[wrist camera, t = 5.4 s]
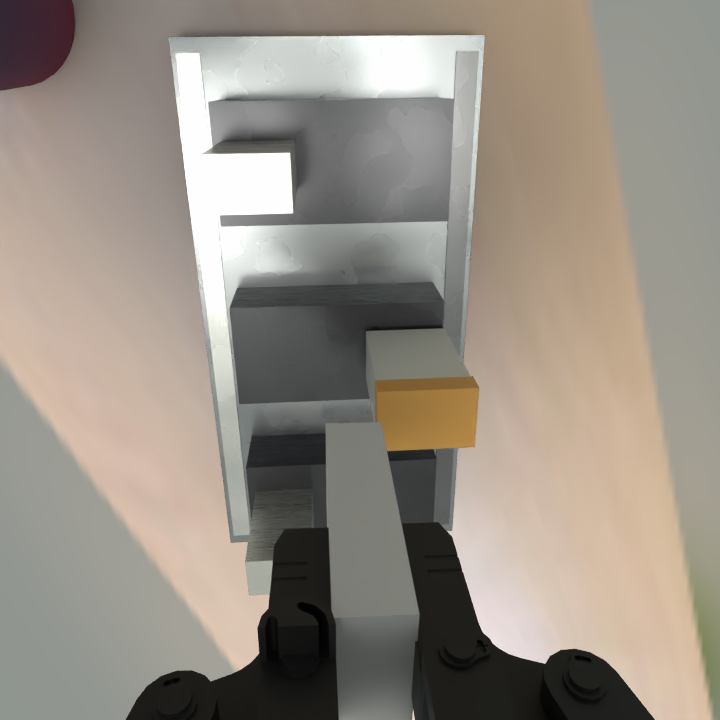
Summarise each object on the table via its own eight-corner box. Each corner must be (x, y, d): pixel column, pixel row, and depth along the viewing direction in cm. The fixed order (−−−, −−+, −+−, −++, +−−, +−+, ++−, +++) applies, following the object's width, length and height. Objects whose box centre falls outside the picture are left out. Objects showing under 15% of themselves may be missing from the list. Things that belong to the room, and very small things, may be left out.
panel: (177, 40, 22) (108, 17, 15) (474, 38, 23) (552, 15, 15) (234, 522, 31) (209, 659, 24) (446, 511, 32) (486, 641, 25)
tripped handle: (364, 329, 23) (377, 392, 18) (446, 327, 23) (478, 388, 18) (364, 379, 24) (377, 451, 19) (443, 376, 24) (474, 447, 19)
